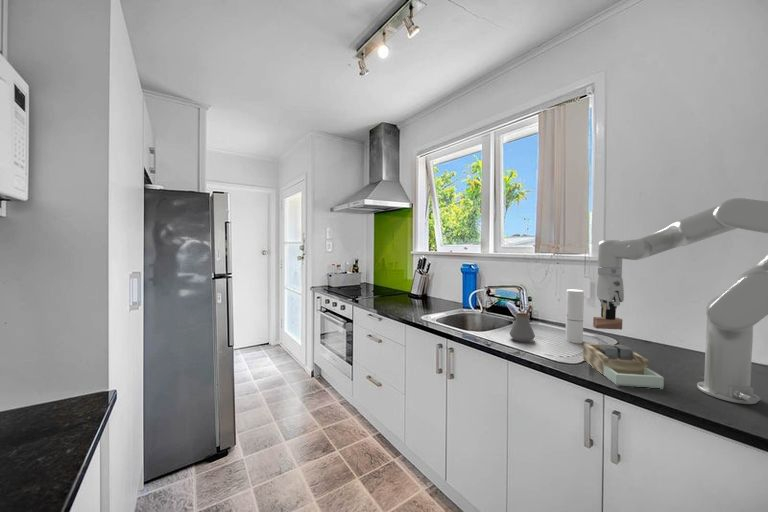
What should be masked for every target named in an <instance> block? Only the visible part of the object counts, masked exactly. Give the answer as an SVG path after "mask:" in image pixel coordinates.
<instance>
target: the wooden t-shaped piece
mask: <svg viewBox="0 0 768 512" xmlns="http://www.w3.org/2000/svg"><path fill="white" fill-rule="evenodd" d="M610 305H611V303H610ZM606 309H607V302H603V317H601V316H593V319H592V321H593V323H592V324H593V325H592V326H593V328H594V329H596V330H597V329H600V330H601V329H602V330H621V331H622V330H623V319H622V318H620V317H616V318H615V320H608V319H606Z"/></svg>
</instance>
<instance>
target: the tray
mask: <svg viewBox="0 0 768 512" xmlns="http://www.w3.org/2000/svg"><path fill="white" fill-rule="evenodd" d="M604 376H606V377H607V378H608V379H609V380H611V381H612V382H614V383H615V384H616V385H624V386H636V387H650V388H660V389H659V390H664V381H665V379H664V377H663V376H662V375H660V374H659V373H658V372H656V371H654V370H652V369H650V368H649V367H648V368H644V375H637V374H620V373H617V372H615V371H614V370H613V369H611V368H610V367H609V366H604ZM604 376H603V377H604ZM609 380H608V381H609ZM650 388H649V389H650Z"/></svg>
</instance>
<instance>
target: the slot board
mask: <svg viewBox="0 0 768 512" xmlns="http://www.w3.org/2000/svg"><path fill="white" fill-rule="evenodd" d="M600 345H612V346H613V347H614V345H615V344H606V343H605V344H604V343H584V342H583V352H582V353H583V356H582V360H583V359H584V360H585V361H586V362H587V364H588V365H589V364H590V365H591V366H592V367H591V366H590V365H589V366H590V367H591V368H593V369H594V368H595V369H596V370H597V371H599V372H600V373H601V374H603V375H604V366H609V367H610V368H611V369H613V370H614V371H615V372H617V373H620V374H637V375H644V368H649V359H648V358H646V357H644V356H643V355H640V354H638V353H637V352H636V351H633V359H632V360H620V359H618V358H617V359H609V358H608V357H607V356H605V355H604V354H602V353H601V352H600ZM617 345H618V346H624V345H622V344H617ZM584 360H583V361H584ZM585 361H584V362H585ZM586 362H585V363H586ZM595 369H594V370H595ZM596 370H595V371H596ZM597 371H596V372H597ZM599 372H598V373H599ZM600 373H599V374H600ZM601 374H600V375H601Z"/></svg>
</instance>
